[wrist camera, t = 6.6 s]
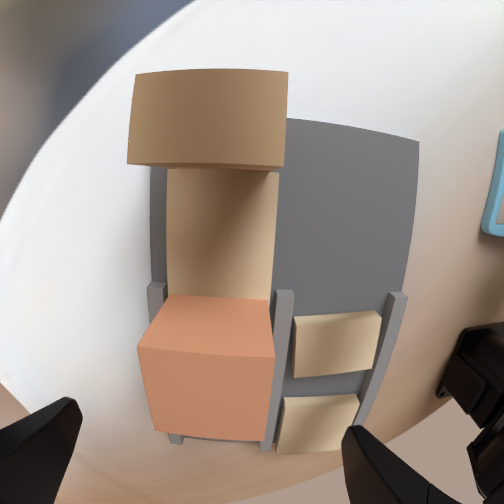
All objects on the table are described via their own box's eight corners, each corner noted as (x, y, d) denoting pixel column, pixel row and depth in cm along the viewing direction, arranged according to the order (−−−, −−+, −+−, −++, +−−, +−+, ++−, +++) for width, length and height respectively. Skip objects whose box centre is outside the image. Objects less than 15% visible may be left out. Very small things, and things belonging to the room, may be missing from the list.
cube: (267, 300, 13) (275, 357, 8) (260, 376, 14) (263, 441, 9) (170, 293, 12) (137, 345, 8) (176, 369, 14) (155, 430, 9)
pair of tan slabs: (380, 309, 14) (387, 318, 13) (337, 439, 17) (340, 449, 16) (294, 309, 14) (297, 319, 13) (273, 443, 17) (273, 454, 16)
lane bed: (409, 143, 13) (427, 140, 11) (348, 428, 18) (353, 444, 16) (160, 119, 12) (148, 112, 11) (175, 426, 17) (170, 443, 16)
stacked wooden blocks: (279, 120, 12) (304, 74, 6) (260, 379, 15) (264, 465, 9) (176, 118, 11) (122, 76, 6) (179, 373, 15) (154, 454, 9)
